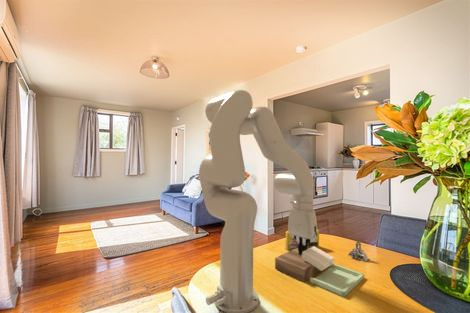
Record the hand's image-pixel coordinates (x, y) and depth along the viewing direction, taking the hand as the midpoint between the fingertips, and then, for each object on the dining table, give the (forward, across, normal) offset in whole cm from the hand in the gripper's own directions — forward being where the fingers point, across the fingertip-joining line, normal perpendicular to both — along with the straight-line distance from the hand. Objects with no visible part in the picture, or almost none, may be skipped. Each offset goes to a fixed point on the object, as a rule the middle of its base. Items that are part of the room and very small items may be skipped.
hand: (302, 254), depth 86 cm
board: (+5, 0, 0) cm, 5 cm away
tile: (+1, +6, 0) cm, 6 cm away
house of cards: (+5, +10, +22) cm, 24 cm away
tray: (+5, +13, 0) cm, 14 cm away
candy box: (+5, -10, +16) cm, 19 cm away
